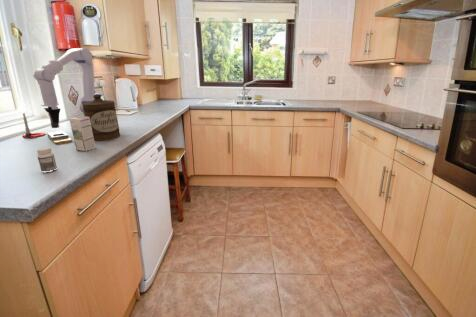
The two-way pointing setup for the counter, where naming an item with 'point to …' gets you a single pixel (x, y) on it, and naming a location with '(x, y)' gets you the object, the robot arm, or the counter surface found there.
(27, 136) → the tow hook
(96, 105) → the brown labelled jar
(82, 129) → the syrup box
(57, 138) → the slotted panel plate
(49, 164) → the pill bottle
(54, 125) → the pin
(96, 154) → the counter surface
